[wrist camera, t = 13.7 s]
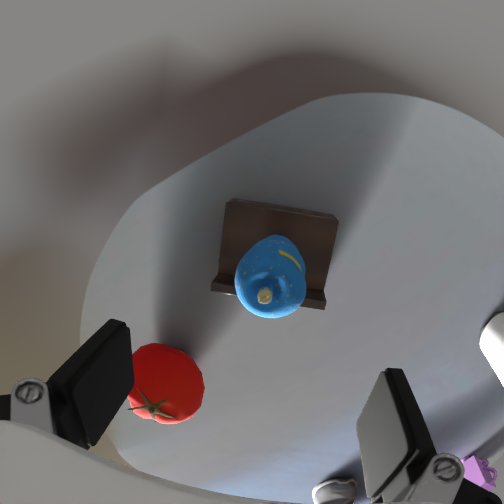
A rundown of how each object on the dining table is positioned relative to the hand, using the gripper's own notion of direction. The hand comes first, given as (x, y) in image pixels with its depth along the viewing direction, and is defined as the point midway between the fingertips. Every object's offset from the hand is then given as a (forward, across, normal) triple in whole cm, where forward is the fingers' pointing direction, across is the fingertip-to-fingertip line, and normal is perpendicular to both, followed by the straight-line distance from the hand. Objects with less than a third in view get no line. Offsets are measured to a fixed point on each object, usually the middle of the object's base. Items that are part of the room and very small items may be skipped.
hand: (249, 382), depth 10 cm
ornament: (+24, 0, +1) cm, 24 cm away
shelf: (+27, 0, +2) cm, 27 cm away
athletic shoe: (+27, -23, +58) cm, 68 cm away
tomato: (+27, +12, +23) cm, 38 cm away
